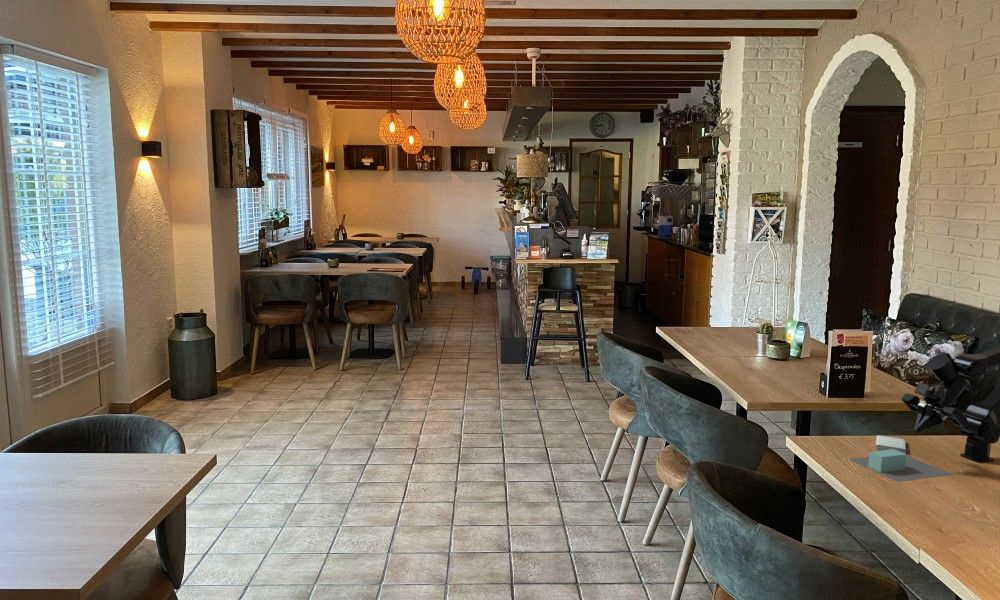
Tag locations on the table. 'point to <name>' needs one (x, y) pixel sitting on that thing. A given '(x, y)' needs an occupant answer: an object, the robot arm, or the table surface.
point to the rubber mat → (907, 470)
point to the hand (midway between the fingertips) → (915, 431)
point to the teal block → (887, 460)
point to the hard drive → (890, 443)
